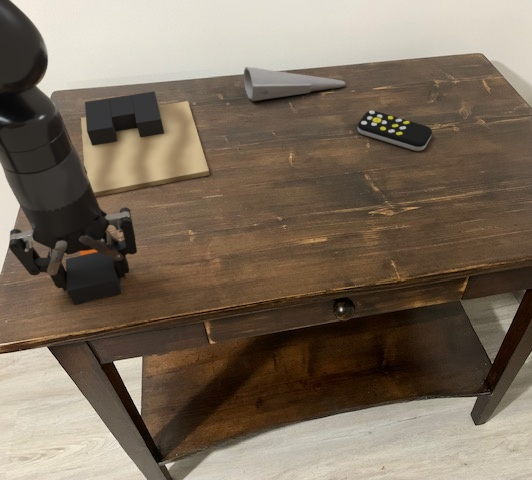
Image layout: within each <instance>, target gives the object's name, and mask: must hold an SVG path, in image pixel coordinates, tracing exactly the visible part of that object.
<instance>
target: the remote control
mask: <svg viewBox="0 0 532 480" xmlns="http://www.w3.org/2000/svg"><path fill="white" fill-rule="evenodd" d="M357 132H358V133H359V134H360V135H362V136H365V137H369V138H373V139H375V140H379V141H382V142H385V143H388V144H391V145H395V146H398V147H401V148H405V149H407V150H411V151H413V152H414V151H415V152H421V151H423V150H424V149H425V148H427V145H428V143H429V141H430V140H431V138H432V135H433V131H432V128H431V127H429V126H428V125H425V124H422V123H418V122H415V121H411V120H407V119H404V118H401V117H398V116H393V115H390V114H387V113H384V112H381V111H378V110H377V111H376V110H369V111H367V112H365V113H364V115H363V116H362V117H361V118H360V120H359V121H358V123H357Z"/></svg>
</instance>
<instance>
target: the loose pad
mask: <svg viewBox="0 0 532 480" xmlns="http://www.w3.org/2000/svg"><path fill="white" fill-rule="evenodd" d="M65 270H66V286H67V291H66V292H67V295H68V297H69V298H70V300H71V302H72V304H73V305H74V306H75V305H80V304H83V303H84V304H85V303H88V302H92V301H96V300H97V301H98V300H100V299H105V298H109V297H113V296H117V295H122V284H121V283H122V282H121V279H120V278H119V275H118V273H117V270H116V268H115V265H114V263H113V258H111V257H110V256H108V255H106V254H105V255H102V254H101V253H99V252H98V251H96V250H94V249H93V250H88V251H79V255H78V256H73V257H69V258H66V259H65Z"/></svg>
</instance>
